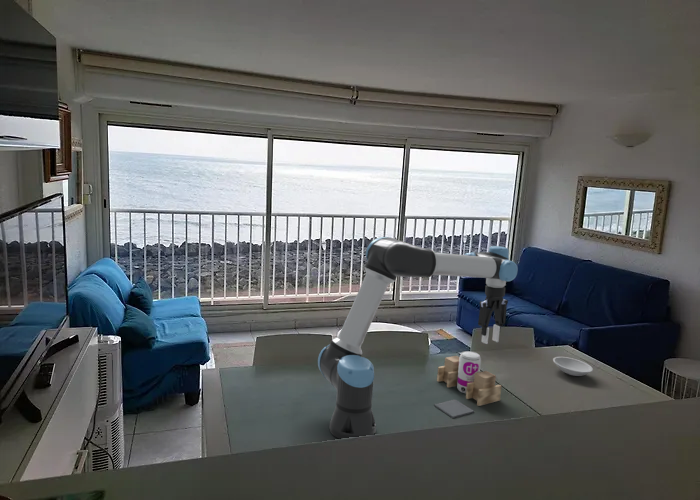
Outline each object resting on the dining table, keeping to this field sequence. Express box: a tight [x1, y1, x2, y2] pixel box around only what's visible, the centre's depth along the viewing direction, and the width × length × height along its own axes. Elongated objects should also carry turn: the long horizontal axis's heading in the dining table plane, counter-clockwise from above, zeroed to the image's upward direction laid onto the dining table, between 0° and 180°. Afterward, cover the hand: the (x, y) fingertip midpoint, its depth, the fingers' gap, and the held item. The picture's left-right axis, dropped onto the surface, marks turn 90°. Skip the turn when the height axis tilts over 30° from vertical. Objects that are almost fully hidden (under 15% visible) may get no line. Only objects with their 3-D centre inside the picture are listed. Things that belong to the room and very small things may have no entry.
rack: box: [436, 355, 502, 407], centre depth 194 cm, size 11×24×10 cm, turn 30°
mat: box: [433, 399, 475, 419], centre depth 178 cm, size 10×10×1 cm
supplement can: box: [456, 350, 482, 395], centre depth 193 cm, size 8×8×15 cm
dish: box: [552, 356, 594, 377], centre depth 215 cm, size 18×14×5 cm
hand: (489, 341), depth 196 cm, fingers open, 5 cm apart
